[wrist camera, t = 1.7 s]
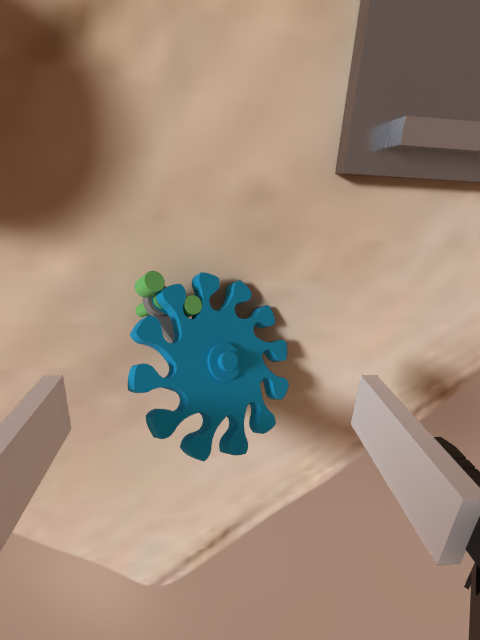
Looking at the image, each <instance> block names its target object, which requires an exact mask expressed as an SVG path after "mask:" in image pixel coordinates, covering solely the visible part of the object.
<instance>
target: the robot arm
mask: <svg viewBox="0 0 480 640" xmlns="http://www.w3.org/2000/svg"><path fill="white" fill-rule="evenodd" d="M351 425H352V427H353V429H354V430H355V432H356V434H357V435H358V437H359V439H360V440H361V442H362V443H363V445H364V447H365V448H366V450H367V452H368V453H369V455H370V457H371V458H372V460H373V461H374V463H375V465H376V466H377V468H378V470H379V471H380V473H381V474H382V476H383V478H384V480H385V481H386V483H387V484H388V486H389V487H390V489H391V491H392V493H393V494H394V496H395V498H396V499H397V501H398V502H399V504H400V506H401V507H402V509H403V511H404V512H405V514H406V515H407V517H408V519H409V520H410V522H411V524H412V525H413V527H414V529H415V530H416V531H417V533H418V535H419V537H420V538H421V540H422V542H423V543H424V545H425V547H426V548H427V550H428V552H429V553H430V555H431V556H432V558H433V560H434V561H435V563H436V565H452V564H460V563H461V561H462V559H463V556H464V553H465V552H466V550H467V552H468V553H469V554H470V556H471V557H472V559H473V560H474V562H475V563H474V566H473V568H472V570H471V572H470V574H469V577H468V579H467V581H466V584H465V586H464V587H465V588H467V589H469V587H470V585H471V600H470V625H469V640H480V472H479V471H478V470H477V469H475V466H473V465H472V463H471V462H470V461H469V460H466V457H465V456H464V455H463V454H462V453H461V452H460V451H459V450H458V449H457V448H456V447H455V446H453V445H452V444H451V443H449V442H448V441H446V440H445V439H443V438H442V437H433V436H432V435H431V434H430V433H429V432H428V431H427V430H426V429H425V428H424V426H423V425H422V424H421V423H420V422H419V421H418V420H417V419H416V418H415V417H414V415H413V414H412V413H411V412H410V411H409V410H408V409H407V408H406V407H405V406H404V405H403V403H402V402H401V401H400V400H399V399H398V398H397V397H396V396H395V395H394V394H393V392H392V391H391V390H390V389H389V388H388V387H387V386H386V385H385V384H384V383H383V382H382V380H381V379H380V378H379V377H378V376H377V375H361V377H360V382H359V387H358V392H357V396H356V401H355V406H354V411H353V416H352V420H351ZM70 430H71V423H70V417H69V411H68V405H67V398H66V392H65V386H64V379H63V375H44V376H43V377H42V378H41V379H40V380H39V381H38V382H37V383H36V385H35V386H34V387H33V388H32V389H31V390H30V391H29V392H28V394H27V395H26V396H25V397H24V398H23V399H22V400H21V401H20V403H19V404H18V405H17V406H16V407H15V408H14V409H13V410H12V412H11V413H10V414H9V415H8V416H7V417H6V418H5V419H4V420H3V422H2V423H1V424H0V552H1V550H2V548H3V546H4V545H5V543H6V541H7V539H8V538H9V536H10V534H11V533H12V531H13V529H14V527H15V526H16V524H17V522H18V520H19V519H20V517H21V515H22V514H23V512H24V510H25V508H26V507H27V505H28V503H29V501H30V500H31V498H32V496H33V494H34V493H35V491H36V489H37V487H38V486H39V484H40V482H41V481H42V479H43V477H44V475H45V474H46V472H47V470H48V468H49V467H50V465H51V463H52V461H53V460H54V458H55V456H56V454H57V453H58V451H59V449H60V447H61V446H62V444H63V442H64V441H65V439H66V437H67V435H68V434H69V432H70Z"/></svg>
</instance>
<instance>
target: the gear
mask: <svg viewBox="0 0 480 640" xmlns="http://www.w3.org/2000/svg"><path fill="white" fill-rule="evenodd" d="M164 283H165V282H164V278H163V276H162V275H161V274H160V273H159V272H156V271H150V272H148V273H147V274H145V275H144V276H143V277H141V278H140V279H139V280H138V281H137V282H136V284H135V290H136V292H137V293H138V294H139V295H140V296H142V297H144V298H143V304H141V305H139V306H138V307H137V308H136V313H137V315H138V316H140V317H144V316H146V315H148V314H149V316H147V317H145V318H143V319H142V320H140V321H139V322H138V323H137V324H136V325H135V327H134V328H133V330H132V332H131V333H130V336H131V338H132V339H133V340H134V341H135V342H136V343H139V344H144V345H147V346H150V347H152V348H154V349H155V350H157V351H158V352H159V353H160V354H161V355H162V356H163V357H164V359H165V360H166V361H167V363H168V365H169V373H168V375H167V376H166V377H165V378H162V377H161V376H160V375H159V374H158V373H157V372H156V370H155V369H154V368H153V367H152V366H150V365H148V364H138V365H134V366H132V367H131V369H130V372H129V376H128V390H129V391H131V392H134V393H145V392H148V391H150V390H152V389H155V388H159V387H161V388H166V389H169V390H172V391H175V392H176V393H177V394H178V395H179V397H180V404H179V406H178V408H177V409H176V410H175V411H170V410H166V409H154V410H151V411H150V412H149V413H148V414H147V415H146V422H147V425H148V428H149V430H150V432H151V433H152V435H153V437H155V438H159V439H165V438H168V437H169V436H171V435H172V433H173V432H174V431H175V429H176V427H177V426H178V425H179V424H180V423H181V422H182V421H183V420H184V419H185V418H187V417H188V416H190V415H193V414H196V413H200V414H201V415H202V418H203V424H202V426H201V428H200V429H199V430H198V431H196V432H193V433H190V434H188V435H186V436H185V437H184V438H183V440H182V442H181V445H180V448H181V449H182V451H183V452H185V453H186V454H187V455H189V456H191V457H193V458H195V459H198V460H201V461H205V460H206V459H207V458H208V457H209V455H210V452H211V445H212V439H213V436H214V433H215V431H216V429H217V427H218V426H219V424H220V423H221V422H222V421H223V419H224V418H225V417H226V416H227V417H228V419H229V428H228V430H227V431H226V432H225V434H224V435H223V436H222V438H221V440H220V444H219V447H220V452H223V453H227V454H231V455H242V454H246V452H247V449H248V442H247V439H246V436H245V432H244V418H245V413H246V408H247V406H248V404H250V406H251V416H250V421H249V425H250V428H251V430H252V431H253V432H254V433H261V434H263V433H266V432H268V431H269V430H270V429H272V428H273V426H274V425H275V424H276V421H275V417H274V415H273V414H272V413H271V412H270V411H269V410H268V409H267V407H266V405H265V404H264V401H263V398H262V394H261V389H260V383H261V381H263V383H264V387H265V392H266V394H267V396H268V397H269V398H270V399H283V398H284V396H285V394H286V392H287V390H288V386H289V383H288V381H287V380H286V379H285V378H283V377H278V376H276V375H274V374H273V373H272V372H271V371H270V370H269V369H268V368H267V366H266V365H265V363H264V361H263V358H262V356H263V352H264V353H265V355H266V356H267V358H268V359H269V360H270V361H272V362H276V361H284V360H286V357H287V343H286V342H285V341H284V340H277V341H272V342H265V341H263V340H261V339H259V338H257V337H256V336H255V334H254V331H253V328H254V326H256V327H258V328H265V327H269V326H272V325H274V323H275V318H274V315H273V312H272V310H271V308H270V306H268V305H266V306H263V307H259V308H257V309H255V310H254V311H253V313H252V314H251V315H250V316H249V317H248V318H247V319H240V318H239V317H238V316H237V315H236V313H235V305H236V304H240V303H243V302H246V301H248V300H249V299H250V298H251V295H252V293H251V291H250V289H249V288H248V287H247V286H246V285H245V284H244V283H243V282H242V281H240V280H239V281H237V282H234V283H232V284H230V285H229V286H228V287H227V290H226V297H225V300H224V303H223V304H222V306H221V307H220V308H219V309H218V310H217V311H215V310H214V309H212V307H211V306H210V303H209V299H210V296H211V295H212V294H213V293H215V292H216V291H217V290H218V288H219V278H218V277H216V276H214V275H212V274H208V273H203V272H201V273H200V274H198V275H196V276H194V278H193V280H192V287H193V290H194V293H195V295H190V296H187V297H186V291H185V289H184V287H183V286H182V285H181V284H175V285H171V286H168V287H166V286H164ZM192 315H193V316H192ZM190 316H192V318H191V319H189V318H188V317H190ZM162 332H163V333H162ZM163 334H164V335H165V337H166V338H167V339H168V341H169V342H170V343H168V342H167V341H166V340H165V339H164V337H163Z"/></svg>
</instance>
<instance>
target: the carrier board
mask: <svg viewBox="0 0 480 640" xmlns="http://www.w3.org/2000/svg"><path fill="white" fill-rule="evenodd" d="M335 174H349V175H365V176H381V177H397V178H412V179H428V180H444V181H460V182H476V183H480V0H361V3H360V9H359V16H358V23H357V30H356V36H355V43H354V50H353V57H352V64H351V70H350V77H349V84H348V91H347V98H346V104H345V111H344V118H343V125H342V132H341V138H340V145H339V152H338V159H337V165H336V172H335Z"/></svg>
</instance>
